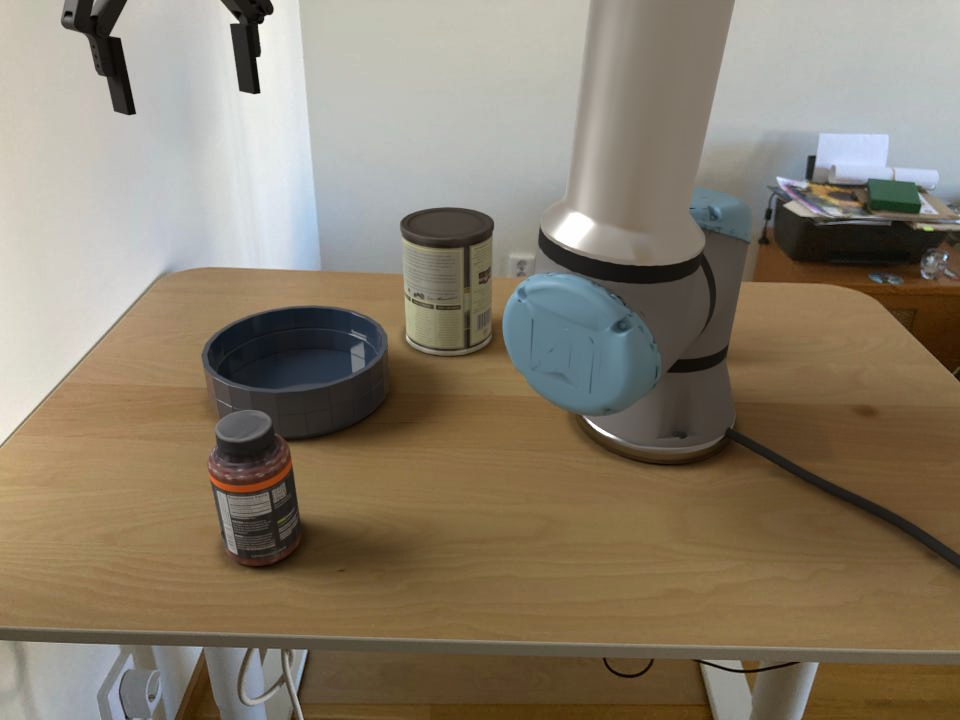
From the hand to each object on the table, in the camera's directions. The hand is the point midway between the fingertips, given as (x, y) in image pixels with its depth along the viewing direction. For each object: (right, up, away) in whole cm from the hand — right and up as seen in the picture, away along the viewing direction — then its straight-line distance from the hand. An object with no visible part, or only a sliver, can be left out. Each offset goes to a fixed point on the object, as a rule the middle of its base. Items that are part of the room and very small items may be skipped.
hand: (191, 102), depth 76 cm
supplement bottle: (+11, -40, -15) cm, 44 cm away
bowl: (+10, -29, +4) cm, 30 cm away
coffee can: (+25, -23, +16) cm, 37 cm away
